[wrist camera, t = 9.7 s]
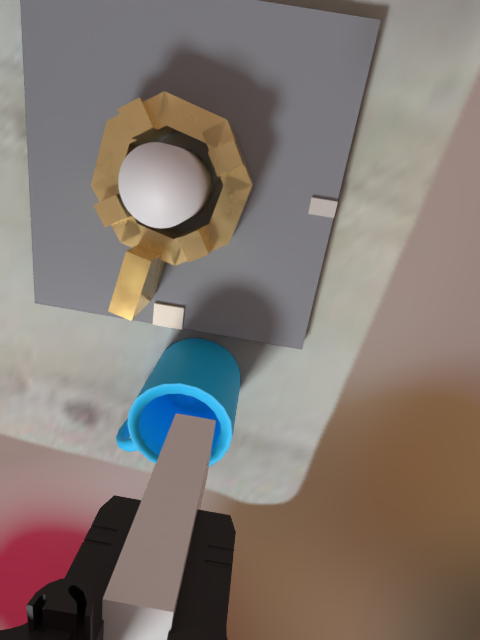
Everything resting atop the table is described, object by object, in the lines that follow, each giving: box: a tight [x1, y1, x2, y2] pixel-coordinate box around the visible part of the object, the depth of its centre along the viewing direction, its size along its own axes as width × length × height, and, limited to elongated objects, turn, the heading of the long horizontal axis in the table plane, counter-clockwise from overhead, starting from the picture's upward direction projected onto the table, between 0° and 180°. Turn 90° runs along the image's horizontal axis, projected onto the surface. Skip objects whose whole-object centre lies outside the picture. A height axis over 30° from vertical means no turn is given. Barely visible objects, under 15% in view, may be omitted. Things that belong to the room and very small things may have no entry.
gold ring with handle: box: [91, 91, 254, 321], centre depth 27 cm, size 15×10×6 cm
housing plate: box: [20, 0, 381, 349], centre depth 27 cm, size 24×24×8 cm
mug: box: [116, 338, 241, 467], centre depth 34 cm, size 12×8×8 cm
